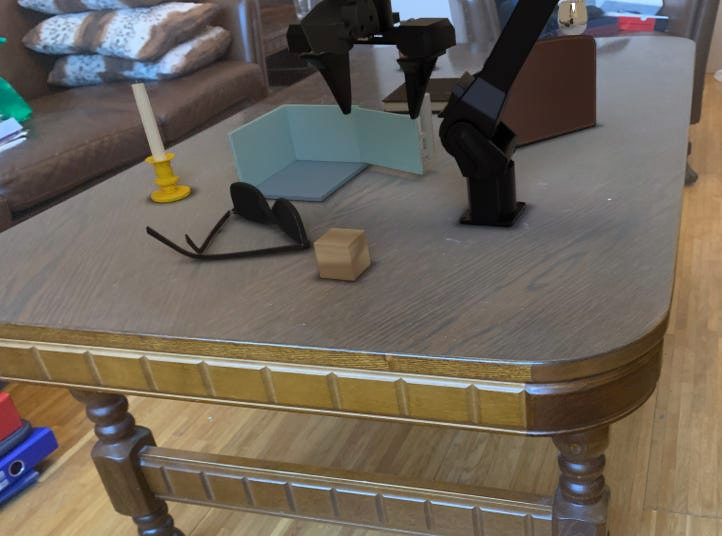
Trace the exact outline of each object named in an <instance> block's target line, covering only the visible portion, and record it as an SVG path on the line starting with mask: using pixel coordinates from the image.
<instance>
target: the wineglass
mask: <svg viewBox="0 0 722 536" xmlns="http://www.w3.org/2000/svg"><path fill="white" fill-rule="evenodd" d="M557 27H558V31H559V32H560V33H561V34H562V36H566V35H583V33H585V31H586V30H587V27H588V11H587V5H586V1H585V0H562V1H559V7H558V12H557Z"/></svg>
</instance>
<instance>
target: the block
mask: <svg viewBox="0 0 722 536" xmlns="http://www.w3.org/2000/svg"><path fill="white" fill-rule="evenodd" d="M313 248H314V253H315V257H316V262H317V267H318V273H319V276H320V278H322V279H330V280H332V279H333V280H342V281H349V282H350V281H351V282H354V281H356V280H357V279H358V278H359V276H361V275H362V274H363V273H364V272H365V271H366V270H367V269H368V268H369V267H370V266H371V263H372V262H371V257H370V253H369V246H368V240H367V235H366V230H365V229H355V228H354V229H353V228H340V227H339V228H338V227H331V228H330V229H328V230H327V231H326V232H325V233H323V234H322V235H321V236H320V237H318V239H317V240H315V241H314V242H313Z"/></svg>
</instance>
